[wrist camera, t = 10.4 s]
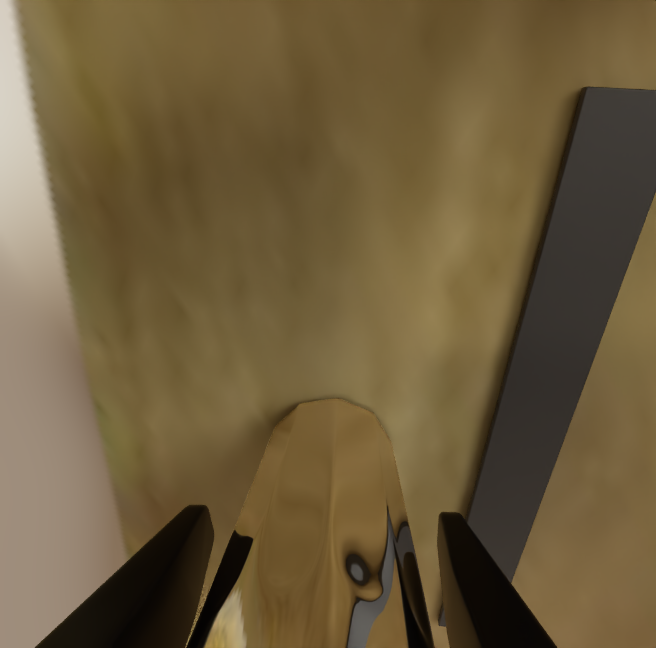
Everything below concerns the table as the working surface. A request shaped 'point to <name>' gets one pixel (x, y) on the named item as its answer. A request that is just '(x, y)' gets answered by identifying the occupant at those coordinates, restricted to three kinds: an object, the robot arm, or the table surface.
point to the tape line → (565, 310)
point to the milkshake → (320, 544)
